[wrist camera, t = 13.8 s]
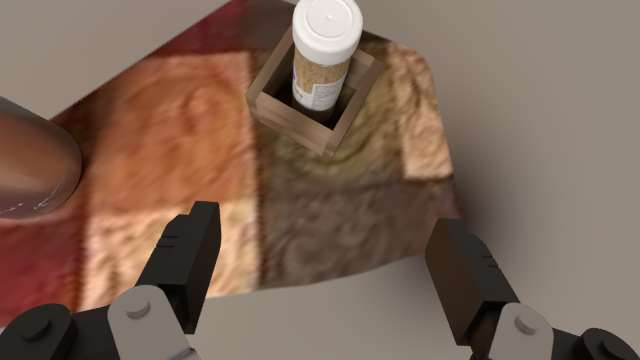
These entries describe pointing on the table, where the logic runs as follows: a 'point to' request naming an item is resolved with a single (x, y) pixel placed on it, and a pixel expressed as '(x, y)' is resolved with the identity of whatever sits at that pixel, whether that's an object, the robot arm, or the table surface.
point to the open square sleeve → (292, 121)
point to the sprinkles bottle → (322, 53)
